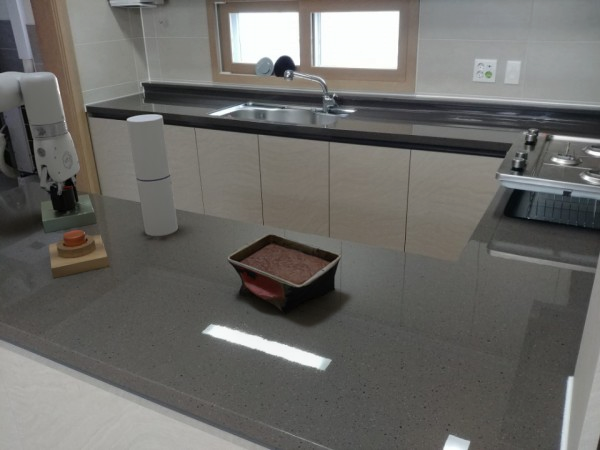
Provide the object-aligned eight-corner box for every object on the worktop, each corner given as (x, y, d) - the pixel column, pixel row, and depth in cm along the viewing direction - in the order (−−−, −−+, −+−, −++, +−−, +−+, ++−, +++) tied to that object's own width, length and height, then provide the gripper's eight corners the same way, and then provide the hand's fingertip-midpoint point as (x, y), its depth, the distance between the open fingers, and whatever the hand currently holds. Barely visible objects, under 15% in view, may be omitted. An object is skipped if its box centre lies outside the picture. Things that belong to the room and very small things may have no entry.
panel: (43, 213, 132) (40, 201, 131) (90, 205, 136) (88, 193, 135) (45, 233, 120) (42, 220, 119) (96, 223, 125) (94, 210, 123)
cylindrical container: (139, 235, 117) (119, 121, 107) (154, 222, 124) (137, 114, 114) (169, 237, 116) (152, 122, 106) (183, 224, 122) (168, 114, 112)
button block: (51, 254, 110) (46, 236, 109) (102, 243, 114) (98, 226, 112) (53, 278, 100) (49, 259, 98) (109, 266, 104) (105, 247, 102)
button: (64, 242, 106) (62, 232, 106) (85, 237, 108) (83, 228, 107) (65, 249, 103) (63, 240, 102) (87, 245, 105) (85, 235, 104)
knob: (56, 211, 124) (51, 191, 123) (56, 205, 128) (52, 186, 126) (76, 207, 126) (72, 188, 124) (76, 202, 130) (72, 183, 128)
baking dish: (288, 338, 83) (296, 283, 79) (216, 286, 93) (219, 235, 89) (346, 306, 93) (356, 256, 89) (275, 262, 103) (281, 215, 99)
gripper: (43, 139, 112) (62, 219, 119) (84, 121, 127) (98, 194, 134) (10, 139, 113) (31, 219, 120) (54, 121, 128) (70, 193, 135)
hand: (66, 205), depth 127 cm, fingers closed on knob, 4 cm apart
